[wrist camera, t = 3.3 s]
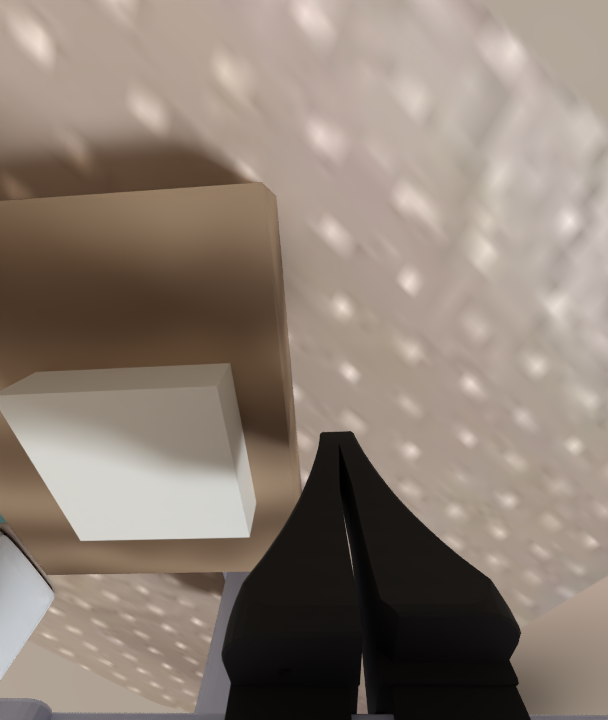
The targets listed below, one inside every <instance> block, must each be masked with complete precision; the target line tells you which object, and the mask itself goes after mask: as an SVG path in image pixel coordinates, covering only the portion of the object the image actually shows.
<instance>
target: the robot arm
mask: <svg viewBox="0 0 608 720" xmlns="http://www.w3.org/2000/svg"><path fill="white" fill-rule="evenodd" d="M343 514H344V515H343ZM344 519H345V521H344ZM345 524H346V528H345ZM346 529H347V534H348V539H349V544H350V550H351V556H352V564H353V570H352V564H351V559H350V553H349V546H348V540H347V534H346ZM353 573H354V575H353ZM223 575H224V578H225V585H224V589H223V594H222V598H221V602H220V606H219V610H218V615H217V619H216V623H215V627H214V631H213V636H212V640H211V644H210V648H209V653H208V657H207V661H206V665H205V669H204V674H203V678H202V682H201V686H200V690H199V695H198V699H197V703H196V707H195V712H194V713H52V711H51V709H50V707H49V706H48V705H47V704H45V703H44V702H42V701H39V700H35V699H28V698H27V699H26V698H0V720H608V715H529V714H528V712H527V710H526V707H525V705H524V703H523V701H522V699H521V696H520V694H519V692H518V690H517V688H516V686H517V685H518V684H519V683H518V678H517V676H516V674H515V672H514V669H513V667H512V665H511V663H510V661H509V659H510V658H511V656H512V654H513V652H514V650H515V648H516V646H517V645H518V642H519V638H520V634H521V632H520V628H519V625H518V624H517V622H516V620H515V618H514V616H513V614H512V612H511V610H510V609H509V607H508V605H507V604H506V602H505V601H504V599H503V597H502V596H501V594H500V593H499V591H498V590H497V588H496V587H495V585H494V584H493V582H492V581H491V579H489V578H488V577H487V576H485V575H484V574H483V573H481V572H480V571H479V570H477V569H476V568H475V567H473V566H472V565H471V564H469V563H468V562H467V561H465V560H464V559H463V558H462V557H460V556H459V555H458V554H457V553H455V552H454V551H453V550H452V549H451V548H450V547H448V546H447V545H446V544H445V543H444V542H442V541H441V540H440V539H439V538H438V537H437V536H436V535H435V534H434V533H433V532H431V531H430V530H429V529H428V528H427V527H426V526H425V525H424V524H423V523H422V522H421V521H420V520H419V519H418V518H417V517H416V516H415V515H414V514H413V513H412V512H411V511H410V510H409V509H408V508H407V507H406V506H405V505H404V504H403V503H402V502H401V501H400V500H399V498H398V497H397V496H396V495H395V494H394V493H393V491H392V490H391V489H390V488H389V487H388V485H387V484H386V483H385V482H384V480H383V479H382V478H381V476H380V475H379V474H378V472H377V471H376V470H375V468H374V467H373V465H372V464H371V462H370V461H369V460H368V458H367V456H366V455H365V453H364V452H363V450H362V448H361V447H360V445H359V443H358V441H357V439H356V437H355V435H354V433H352V432H351V431H347V432H322V433H321V434H320V440H319V446H318V451H317V454H316V458H315V461H314V464H313V467H312V470H311V473H310V475H309V478H308V480H307V482H306V485H305V487H304V489H303V492H302V494H301V496H300V498H299V500H298V502H297V504H296V506H295V508H294V509H293V511H292V513H291V515H290V516H289V518H288V520H287V522H286V523H285V525H284V527H283V528H282V530H281V531H280V533H279V534H278V536H277V537H276V539H275V540H274V542H273V543H272V545H271V546H270V547H269V549H268V550H267V552H266V553H265V555H264V556H263V557H262V559H261V560H260V561H259V562H258V564H257V565H256V566H255V567H254V569H253V570H252V571H251V572H223ZM362 657H363V667H364V677H365V687H366V697H367V708H368V714H357V700H358V685H360V674H361V659H362Z"/></svg>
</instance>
